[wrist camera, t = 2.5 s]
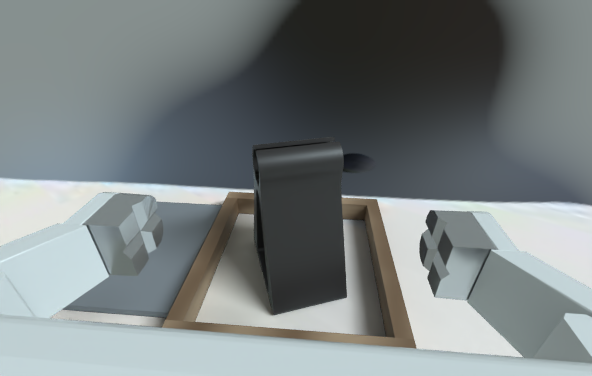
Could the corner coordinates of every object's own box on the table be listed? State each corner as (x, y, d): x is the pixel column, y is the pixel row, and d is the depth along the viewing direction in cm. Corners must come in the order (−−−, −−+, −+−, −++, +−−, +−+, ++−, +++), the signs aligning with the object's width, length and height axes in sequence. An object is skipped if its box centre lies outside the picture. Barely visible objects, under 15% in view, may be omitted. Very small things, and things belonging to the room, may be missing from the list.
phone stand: (346, 299, 25) (366, 167, 18) (273, 317, 23) (267, 180, 17) (311, 230, 32) (316, 119, 26) (254, 240, 30) (245, 125, 24)
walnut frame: (164, 354, 21) (157, 336, 20) (230, 206, 35) (229, 191, 34) (412, 375, 20) (418, 357, 19) (374, 214, 34) (376, 199, 33)
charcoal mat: (19, 306, 24) (15, 300, 23) (121, 204, 36) (119, 199, 35) (169, 317, 23) (168, 312, 23) (222, 209, 35) (221, 205, 34)
